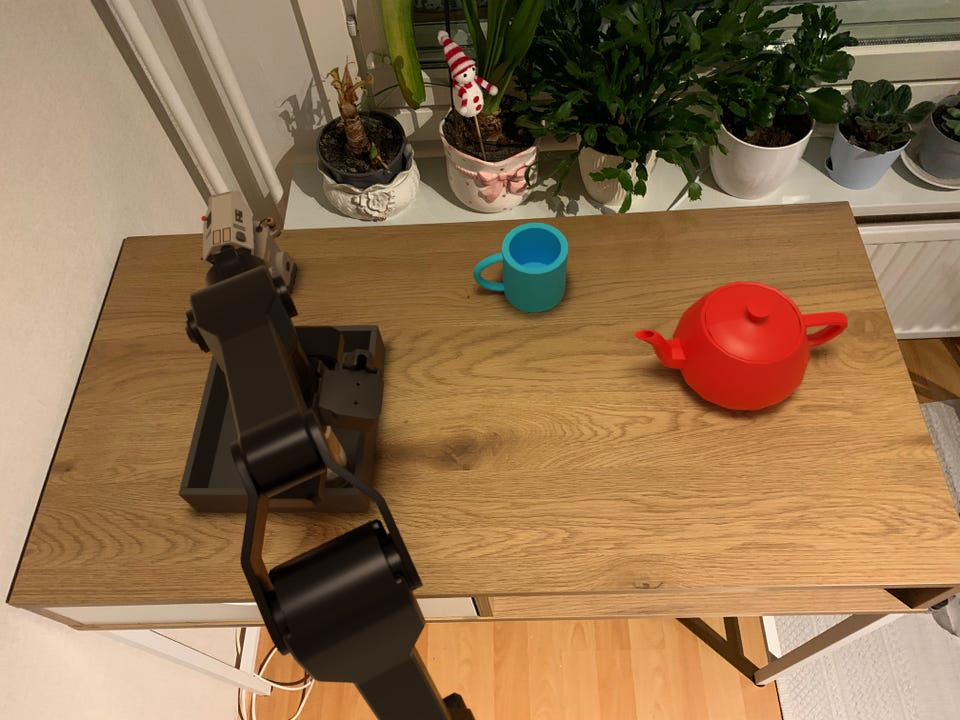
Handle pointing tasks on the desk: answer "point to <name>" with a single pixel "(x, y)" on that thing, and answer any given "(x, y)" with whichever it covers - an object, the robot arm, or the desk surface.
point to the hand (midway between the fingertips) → (321, 447)
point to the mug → (530, 267)
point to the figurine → (243, 235)
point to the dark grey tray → (210, 459)
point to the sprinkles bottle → (340, 456)
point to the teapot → (744, 345)
